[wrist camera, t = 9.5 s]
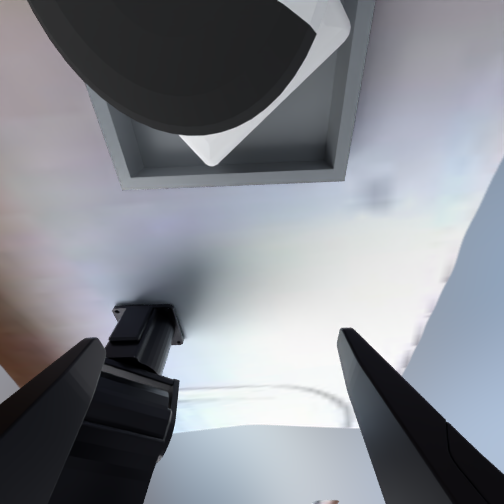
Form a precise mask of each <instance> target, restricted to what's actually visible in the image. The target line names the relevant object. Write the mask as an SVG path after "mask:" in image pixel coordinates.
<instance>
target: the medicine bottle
mask: <svg viewBox="0 0 504 504" xmlns="http://www.w3.org/2000/svg"><path fill="white" fill-rule="evenodd" d="M27 1H28V3H29V5H30V7H31V9H32V11H33V13H34V14H35V16H36V18H37V19H38V21H39V23H40V24H41V26H42V27H43V29H44V31H45V32H46V34H47V36H48V37H49V39H50V40H51V42H52V43H53V44H54V46H55V47H56V48H57V50H58V51H59V53H60V54H61V55H62V57H63V58H64V59H65V61H66V62H67V63H68V64H69V65H70V67H71V68H72V69H73V70H74V71H75V72H76V73H77V74H78V76H79V77H80V78H81V79H82V80H83V81H84V82H85V83H86V84H87V85H88V86H89V87H90V88H91V89H92V90H93V91H94V92H96V93H97V94H98V95H99V96H100V97H101V98H102V99H103V100H105V101H106V102H107V103H109V104H110V105H111V106H113V107H114V108H115V109H117V110H118V111H120V112H121V113H123V114H125V115H126V116H128V117H130V118H132V119H133V120H135V121H137V122H139V123H141V124H144V125H146V126H148V127H151V128H153V129H156V130H160V131H163V132H167V133H170V134H177V135H179V136H180V137H181V138H182V139H183V140H184V141H185V142H186V143H187V145H188V146H189V147H190V148H191V149H192V150H193V151H194V152H195V153H196V154H197V155H198V156H199V157H200V158H201V159H202V160H203V162H204V163H205V164H207V165H208V166H215V165H217V164H218V163H219V162H220V161H221V160H222V159H223V158H224V157H226V156H227V155H228V154H229V153H230V152H231V151H232V150H233V149H234V148H235V147H236V146H237V145H238V144H239V143H240V142H241V141H242V140H243V139H244V138H245V137H246V136H247V135H248V134H249V133H250V132H251V131H252V130H253V129H254V128H256V127H257V126H258V125H259V124H260V123H261V122H262V121H263V120H264V119H265V118H266V117H267V116H268V115H269V114H270V113H271V112H272V111H273V110H274V109H275V108H276V107H277V106H278V105H279V104H280V103H281V102H282V101H283V100H285V99H286V98H287V97H288V96H289V95H290V94H291V93H292V92H293V91H294V90H295V89H296V88H297V87H298V86H299V85H300V84H301V83H302V82H303V81H304V80H305V79H306V78H307V77H308V76H309V75H310V74H311V73H312V72H313V71H315V70H316V69H317V68H318V67H319V66H320V65H321V64H322V63H323V62H324V61H325V60H326V59H327V58H328V57H329V56H330V55H331V54H332V53H333V52H334V51H335V50H336V49H337V48H338V47H339V46H340V45H341V44H342V43H343V42H345V40H346V39H347V37H348V36H349V33H350V28H351V25H350V21H349V19H348V16H347V14H346V12H345V10H344V8H343V6H342V4H341V1H340V0H27Z"/></svg>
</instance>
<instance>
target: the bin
mask: <svg viewBox="0 0 504 504" xmlns="http://www.w3.org/2000/svg"><path fill="white" fill-rule="evenodd" d="M340 1H341V4H342V6H343V8H344V10H345V12H346V14H347V16H348V19H349V21H350V25H351V28H350V33H349V36H348V37H347V39H346V40H345V42H343V43H342V44H341V45H340V46H339V47H338V48H337V49H336V50H335V51H334V52H333V53H332V54H331V55H330V56H329V57H328V58H327V59H326V60H325V61H324V62H323V63H322V64H321V65H320V66H319V67H318V68H317V69H316V70H315V71H313V72H312V73H311V74H310V75H309V76H308V77H307V78H306V79H305V80H304V81H303V82H302V83H301V84H300V85H299V86H298V87H297V88H296V89H295V90H294V91H293V92H292V93H291V94H290V95H289V96H288V97H287V98H286V99H285V100H283V101H282V102H281V103H280V104H279V105H278V106H277V107H276V108H275V109H274V110H273V111H272V112H271V113H270V114H269V115H268V116H267V117H266V118H265V119H264V120H263V121H262V122H261V123H260V124H259V125H258V126H257V127H256V128H254V129H253V130H252V131H251V132H250V133H249V134H248V135H247V136H246V137H245V138H244V139H243V140H242V141H241V142H240V143H239V144H238V145H237V146H236V147H235V148H234V149H233V150H232V151H231V152H230V153H229V154H228V155H227V156H226V157H224V158H223V159H222V160H221V161H220V162H219V163H218V164H217V165H215V166H208V165H207V164H205V163H204V162H203V160H202V159H201V158H200V157H199V156H198V155H197V154H196V153H195V152H194V151H193V150H192V149H191V148H190V147H189V146H188V145H187V143H186V142H185V141H184V140H183V139H182V138H181V137H180V136H179V135H177V134H170V133H167V132H163V131H160V130H156V129H153V128H151V127H148V126H146V125H144V124H141V123H139V122H137V121H135V120H133V119H132V118H130V117H128V116H126V115H125V114H123V113H121V112H120V111H118V110H117V109H115V108H114V107H113V106H111V105H110V104H109V103H107V102H106V101H105V100H103V99H102V98H101V97H100V96H99V95H98V94H97V93H96V92H94V91H93V90H92V89H91V88H90V87H89V86H88V85H87V84H86V83H85V85H86V87H87V90H88V93H89V96H90V99H91V102H92V105H93V108H94V110H95V113H96V116H97V119H98V122H99V125H100V128H101V130H102V133H103V136H104V139H105V142H106V145H107V148H108V150H109V153H110V156H111V159H112V162H113V165H114V168H115V171H116V173H117V176H118V179H119V182H120V185H121V188H122V190H144V189H168V188H192V187H216V186H240V185H264V184H288V183H312V182H336V181H344V180H345V174H346V169H347V163H348V157H349V151H350V145H351V140H352V134H353V128H354V122H355V117H356V111H357V105H358V99H359V94H360V88H361V82H362V76H363V70H364V65H365V59H366V53H367V47H368V42H369V36H370V30H371V24H372V19H373V13H374V7H375V1H376V0H340Z"/></svg>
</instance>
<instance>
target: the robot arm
mask: <svg viewBox="0 0 504 504" xmlns="http://www.w3.org/2000/svg"><path fill="white" fill-rule="evenodd" d="M112 312H113V314H114V316H115V318H116V320H117V321H118V323H117V325H116V327H115V328H114V330H113V332H112V334H111V335H110V337H109V342H108V343H107V345H106V347H105V348H104V347H103V345H102V343H101V342H100V340H99V339H98V338H96V337H92V338H85V339H83V340H82V341H80V342H79V343H78V344H76V345H75V346H74V347H73V348H71V349H70V350H69V351H67V352H66V353H65V354H64V355H62V356H61V357H60V358H59V359H57V360H56V361H55V362H53V363H52V364H51V365H50V366H48V367H47V368H46V369H45V370H43V371H42V372H41V373H39V374H38V375H37V376H36V377H34V378H33V379H32V380H31V381H29V382H28V383H27V384H25V385H24V386H23V387H22V388H20V389H19V390H18V391H17V392H15V393H14V394H13V395H11V396H10V397H9V398H8V399H6V400H5V401H4V402H2V403H1V404H0V504H143V503H144V499H145V496H146V493H147V489H148V486H149V483H150V479H151V476H152V473H153V470H154V468H155V465H156V463H158V462H159V461H160V460H161V458H162V457H163V455H164V453H165V451H166V449H167V447H168V445H169V442H170V439H171V437H172V433H173V430H174V425H175V419H176V410H177V400H178V390H179V380H176V379H170V378H167V377H164V376H162V372H163V369H164V366H165V363H166V360H167V357H168V353H169V350H170V347H171V345H181V344H183V341H184V338H183V335H182V332H181V329H180V326H179V323H178V319H177V316H176V313H175V310H174V307H173V306H172V305H170V304H157V305H126V306H115V307H114V308H113V310H112ZM337 348H338V353H339V357H340V362H341V366H342V370H343V375H344V379H345V383H346V387H347V391H348V394H349V398H350V401H351V404H352V406H353V409H354V412H355V415H356V418H357V421H358V424H359V427H360V430H361V433H362V436H363V439H364V442H365V444H366V447H367V450H368V453H369V456H370V459H371V462H372V465H373V468H374V471H375V474H376V476H377V480H378V482H379V485H380V488H381V491H382V494H383V497H384V500H385V503H386V504H504V474H503V473H502V472H501V471H500V470H498V469H497V468H496V467H495V466H494V465H493V464H492V463H491V462H489V461H488V460H487V459H486V458H485V457H484V456H483V455H482V454H481V453H479V451H478V450H477V449H475V448H474V447H473V446H472V445H471V444H470V443H469V442H468V441H467V440H466V439H465V438H464V437H463V436H462V435H461V434H460V433H459V432H458V431H457V430H456V429H455V428H454V427H453V426H451V424H450V423H448V422H446V420H445V419H444V418H443V417H442V416H441V415H440V414H439V413H438V412H437V411H436V410H435V409H434V408H433V407H432V406H431V405H430V404H429V403H428V402H427V401H426V400H425V399H424V398H423V397H422V396H421V395H420V394H419V393H418V392H417V391H416V390H415V389H414V388H413V387H412V386H411V385H410V384H409V383H408V382H407V381H406V380H405V379H404V378H403V377H402V376H401V375H400V374H399V373H398V372H397V371H396V370H395V369H394V368H393V367H392V366H391V365H390V364H389V363H388V362H387V361H386V360H385V359H384V358H383V357H382V356H381V355H380V354H379V353H378V352H377V351H375V350H374V349H373V348H372V347H371V346H370V345H369V344H368V343H367V342H366V341H365V340H364V339H363V338H362V337H361V336H360V335H359V334H358V333H357V332H356V331H355V330H354V329H353V328H341V329H340V331H339V336H338V340H337Z"/></svg>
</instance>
